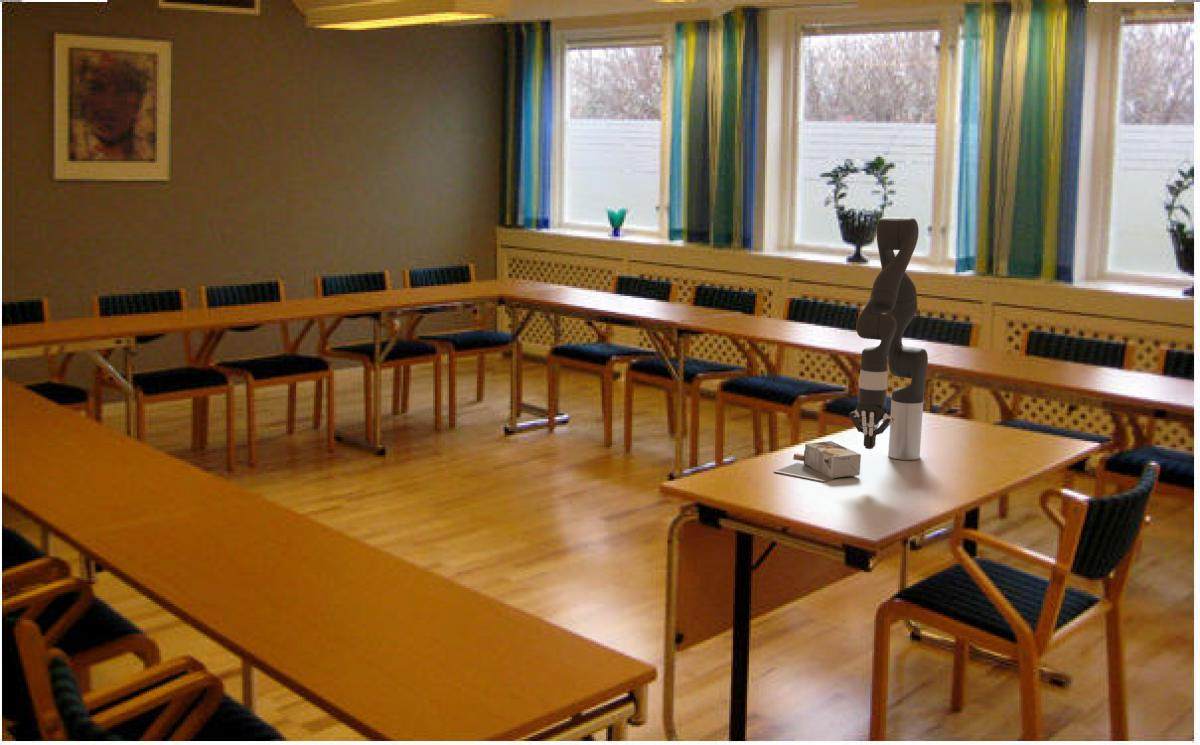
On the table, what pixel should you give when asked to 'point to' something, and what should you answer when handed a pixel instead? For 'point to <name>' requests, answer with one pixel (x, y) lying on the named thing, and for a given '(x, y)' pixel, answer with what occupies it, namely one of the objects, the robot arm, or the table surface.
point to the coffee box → (832, 459)
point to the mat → (803, 472)
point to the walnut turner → (799, 456)
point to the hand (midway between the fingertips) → (869, 448)
